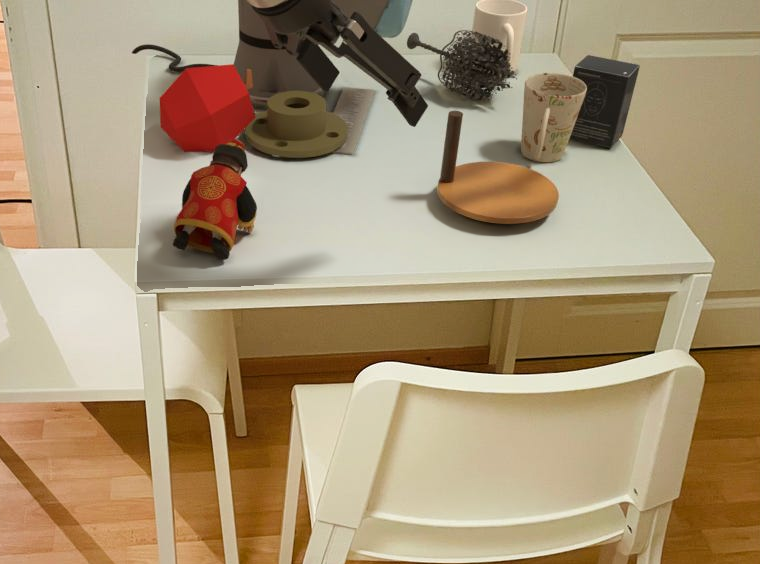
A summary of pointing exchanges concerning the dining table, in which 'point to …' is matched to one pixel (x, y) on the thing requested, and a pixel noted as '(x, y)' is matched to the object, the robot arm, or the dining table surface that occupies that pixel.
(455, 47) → the massage brush
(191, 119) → the red faceted polyhedron
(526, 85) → the mug
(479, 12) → the cup
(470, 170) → the wooden disc with post
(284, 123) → the flange
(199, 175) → the figurine
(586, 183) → the dining table surface
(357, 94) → the nameplate
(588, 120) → the box
